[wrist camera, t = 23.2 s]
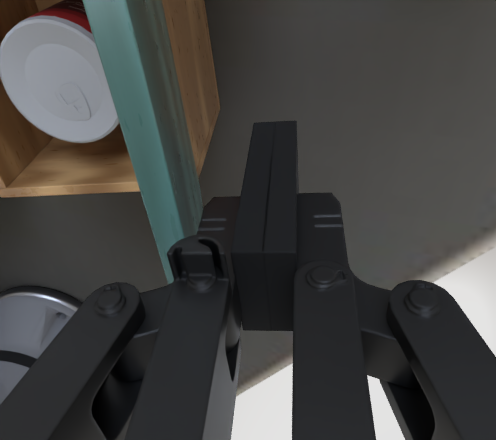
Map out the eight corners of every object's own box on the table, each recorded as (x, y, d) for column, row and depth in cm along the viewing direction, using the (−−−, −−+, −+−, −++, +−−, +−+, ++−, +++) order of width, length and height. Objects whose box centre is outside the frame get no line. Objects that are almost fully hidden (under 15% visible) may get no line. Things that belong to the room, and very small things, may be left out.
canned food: (127, 102, 39) (80, 164, 30) (50, 32, 36) (-27, 79, 27) (183, 43, 35) (149, 94, 27) (104, -41, 32) (36, -14, 23)
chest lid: (204, 405, 17) (225, 400, 17) (51, -100, 7) (99, -106, 7) (188, 194, 28) (200, 191, 29) (123, -99, 19) (141, -101, 19)
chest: (74, 118, 41) (0, 198, 31) (1, -80, 32) (-142, -64, 21) (220, 108, 39) (196, 189, 29) (189, -105, 30) (135, -100, 19)
